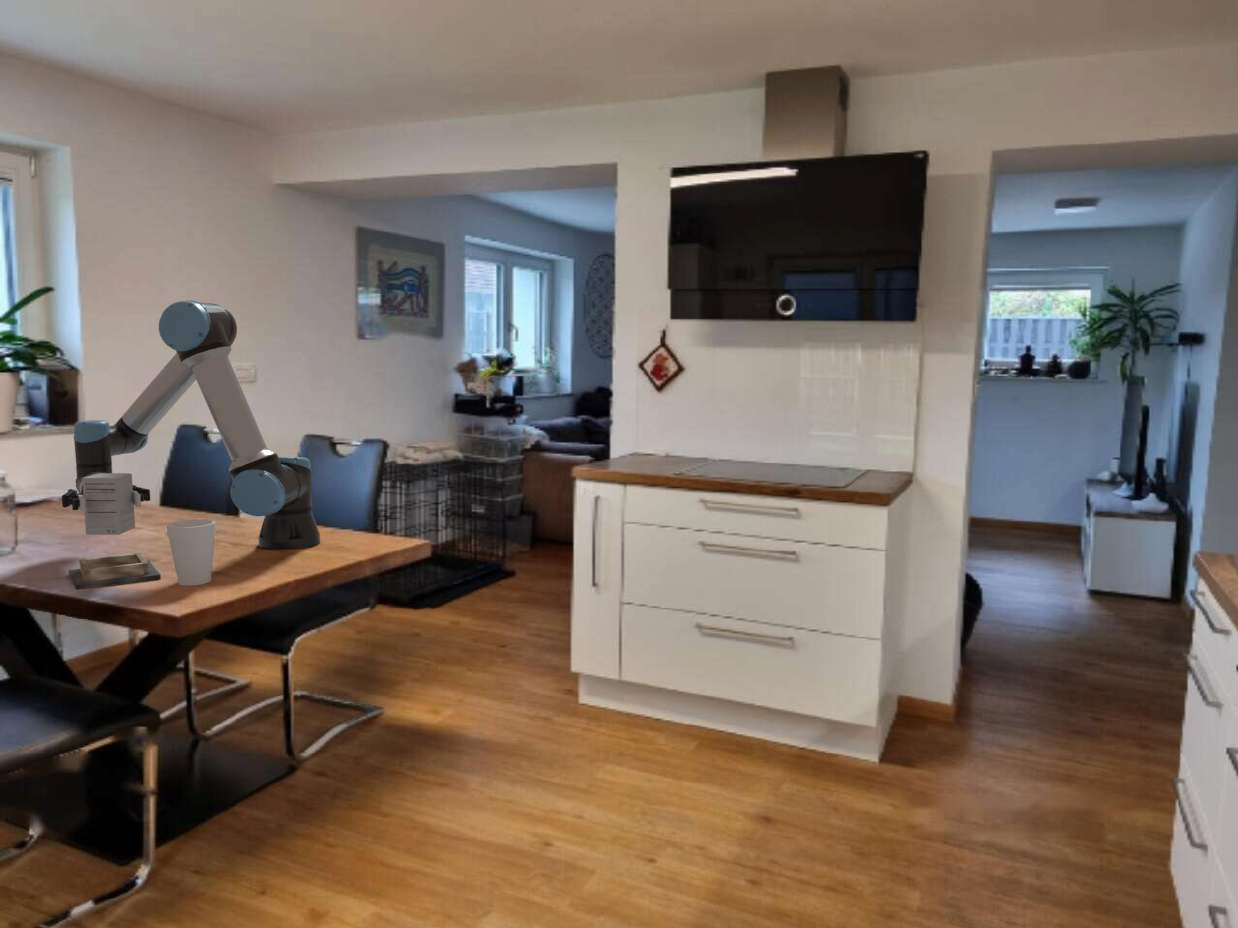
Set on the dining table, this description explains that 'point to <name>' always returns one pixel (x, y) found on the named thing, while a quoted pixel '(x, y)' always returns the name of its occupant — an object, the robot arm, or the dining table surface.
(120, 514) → the supplement box
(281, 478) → the robot arm
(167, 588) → the dining table surface
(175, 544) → the foam cup
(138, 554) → the keeper cradle
